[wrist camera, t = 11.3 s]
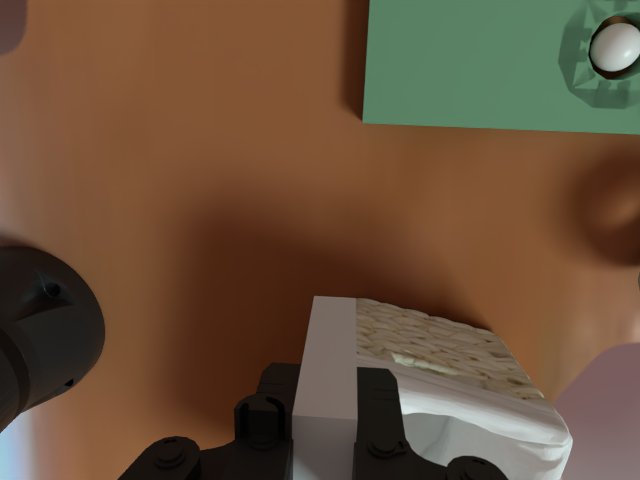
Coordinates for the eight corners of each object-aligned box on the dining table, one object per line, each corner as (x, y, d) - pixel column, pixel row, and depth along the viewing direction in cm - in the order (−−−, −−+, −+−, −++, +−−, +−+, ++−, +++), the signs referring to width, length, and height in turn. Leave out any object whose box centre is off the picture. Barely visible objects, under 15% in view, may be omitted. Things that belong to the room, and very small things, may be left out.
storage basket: (428, 517, 51) (456, 682, 37) (281, 478, 50) (252, 628, 36) (515, 323, 43) (591, 437, 29) (342, 276, 43) (336, 368, 29)
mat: (362, 121, 39) (362, 122, 37) (372, -48, 35) (373, -56, 33) (670, 133, 37) (687, 136, 35) (714, -41, 34) (736, -48, 32)
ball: (636, 74, 33) (636, 68, 35) (648, 23, 32) (647, 21, 34) (584, 73, 34) (588, 68, 37) (593, 24, 33) (596, 22, 36)
